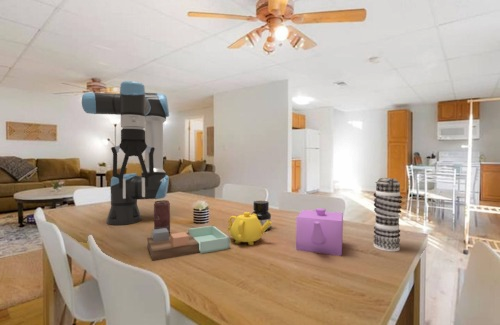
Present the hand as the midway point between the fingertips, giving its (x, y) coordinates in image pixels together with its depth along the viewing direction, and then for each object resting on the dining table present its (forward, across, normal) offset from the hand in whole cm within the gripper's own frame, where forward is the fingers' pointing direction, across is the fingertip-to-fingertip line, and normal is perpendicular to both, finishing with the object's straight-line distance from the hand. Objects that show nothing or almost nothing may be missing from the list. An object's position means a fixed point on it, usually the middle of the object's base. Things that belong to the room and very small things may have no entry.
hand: (134, 197), depth 89 cm
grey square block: (+16, +8, 0) cm, 18 cm away
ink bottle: (+19, +52, +4) cm, 56 cm away
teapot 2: (+19, +60, -26) cm, 68 cm away
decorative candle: (+19, +82, -37) cm, 91 cm away
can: (+19, +12, +14) cm, 26 cm away
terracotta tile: (+16, +14, -8) cm, 22 cm away
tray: (+19, +25, -4) cm, 31 cm away
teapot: (+19, +40, -8) cm, 45 cm away
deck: (+19, +12, -4) cm, 23 cm away
